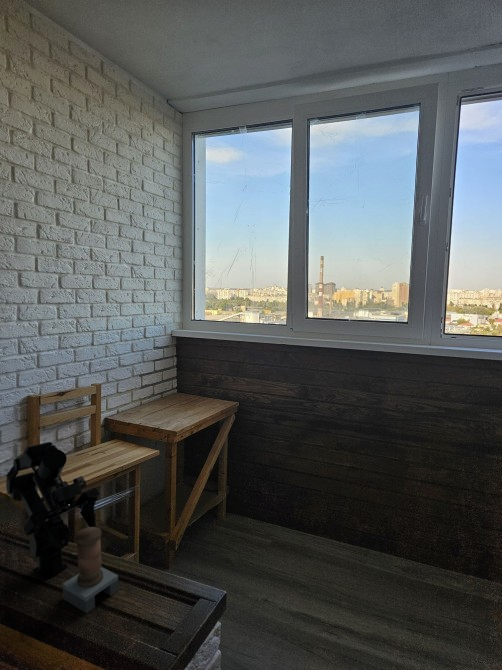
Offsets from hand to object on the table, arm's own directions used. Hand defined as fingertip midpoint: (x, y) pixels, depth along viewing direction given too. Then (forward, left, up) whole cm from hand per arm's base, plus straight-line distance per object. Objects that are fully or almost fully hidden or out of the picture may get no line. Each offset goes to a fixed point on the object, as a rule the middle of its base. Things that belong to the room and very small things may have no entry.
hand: (79, 539), depth 108 cm
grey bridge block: (+4, 0, -13) cm, 14 cm away
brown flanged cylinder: (+4, 0, -9) cm, 10 cm away
